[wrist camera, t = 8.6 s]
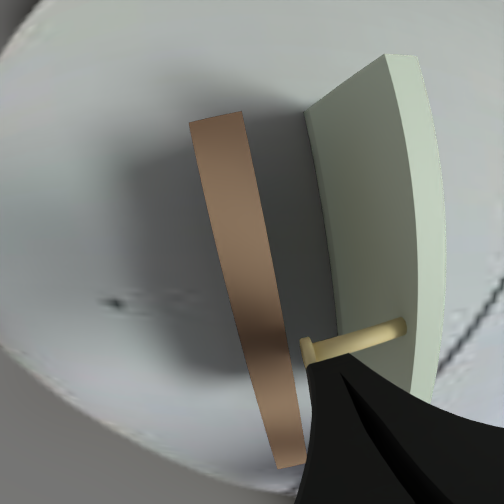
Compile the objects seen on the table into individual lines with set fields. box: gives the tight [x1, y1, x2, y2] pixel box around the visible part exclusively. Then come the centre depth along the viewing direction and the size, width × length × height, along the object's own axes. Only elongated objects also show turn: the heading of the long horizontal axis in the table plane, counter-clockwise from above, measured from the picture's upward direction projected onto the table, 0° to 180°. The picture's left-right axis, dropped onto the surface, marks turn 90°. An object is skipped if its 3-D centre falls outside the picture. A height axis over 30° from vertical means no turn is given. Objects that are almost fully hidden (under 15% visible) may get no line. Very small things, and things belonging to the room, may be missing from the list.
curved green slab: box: [299, 54, 446, 404], centre depth 14 cm, size 18×8×10 cm, turn 12°
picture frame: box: [189, 111, 307, 469], centre depth 13 cm, size 16×2×6 cm, turn 12°
